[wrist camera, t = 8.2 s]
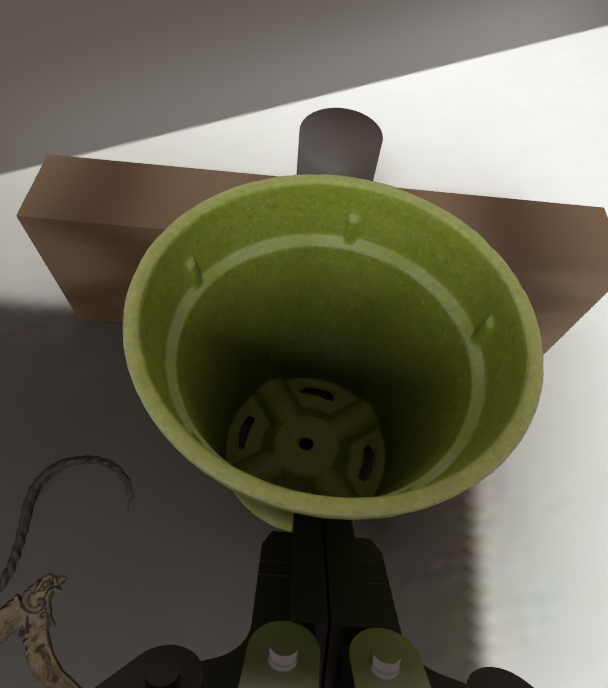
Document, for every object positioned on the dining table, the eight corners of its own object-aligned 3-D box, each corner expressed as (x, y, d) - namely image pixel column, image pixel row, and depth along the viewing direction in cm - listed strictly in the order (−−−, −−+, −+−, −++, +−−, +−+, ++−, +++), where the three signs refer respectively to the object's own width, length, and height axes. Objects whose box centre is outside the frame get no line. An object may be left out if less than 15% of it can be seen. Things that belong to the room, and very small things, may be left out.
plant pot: (436, 371, 20) (528, 207, 13) (425, 620, 15) (573, 570, 8) (223, 328, 21) (203, 148, 14) (138, 554, 15) (32, 449, 8)
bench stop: (79, 319, 20) (-35, 131, 13) (99, 265, 22) (7, 68, 14) (538, 359, 21) (699, 202, 13) (526, 303, 22) (663, 134, 15)
